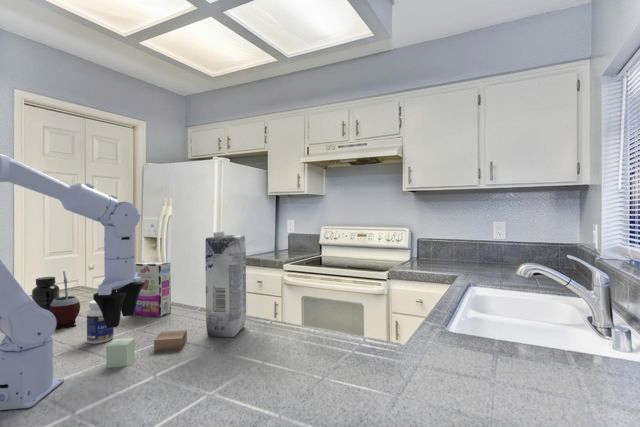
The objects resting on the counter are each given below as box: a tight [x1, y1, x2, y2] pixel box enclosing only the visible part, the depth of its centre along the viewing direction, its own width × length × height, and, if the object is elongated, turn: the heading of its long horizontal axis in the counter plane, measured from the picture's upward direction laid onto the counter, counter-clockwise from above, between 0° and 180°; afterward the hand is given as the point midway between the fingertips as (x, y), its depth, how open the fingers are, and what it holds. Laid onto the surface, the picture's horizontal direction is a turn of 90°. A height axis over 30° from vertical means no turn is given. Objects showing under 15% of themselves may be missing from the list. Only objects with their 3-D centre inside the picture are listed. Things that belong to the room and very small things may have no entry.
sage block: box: [105, 337, 136, 369], centre depth 73 cm, size 4×4×4 cm
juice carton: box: [204, 230, 247, 338], centre depth 92 cm, size 9×10×27 cm
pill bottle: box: [86, 299, 115, 345], centre depth 86 cm, size 6×6×10 cm
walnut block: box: [153, 329, 188, 353], centre depth 82 cm, size 6×6×3 cm
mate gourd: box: [50, 271, 81, 331], centre depth 98 cm, size 8×8×15 cm
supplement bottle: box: [31, 276, 61, 311], centre depth 108 cm, size 7×7×12 cm
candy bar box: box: [133, 261, 172, 318], centre depth 109 cm, size 11×5×16 cm, turn 73°
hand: (120, 321), depth 73 cm, fingers open, 7 cm apart
